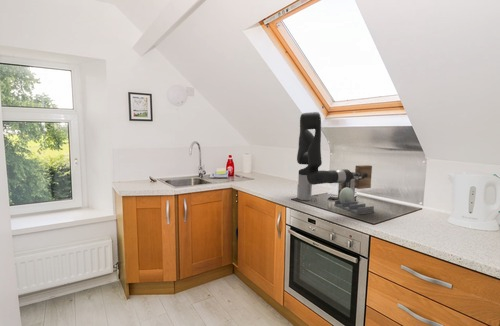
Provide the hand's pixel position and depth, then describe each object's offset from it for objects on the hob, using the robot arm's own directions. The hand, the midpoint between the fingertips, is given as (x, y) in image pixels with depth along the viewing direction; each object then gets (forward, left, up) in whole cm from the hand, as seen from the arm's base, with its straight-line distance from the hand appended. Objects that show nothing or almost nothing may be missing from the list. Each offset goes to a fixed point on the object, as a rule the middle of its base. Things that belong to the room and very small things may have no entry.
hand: (364, 174), depth 164 cm
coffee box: (-24, +9, -22) cm, 34 cm away
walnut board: (0, -1, -7) cm, 8 cm away
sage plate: (-13, -1, -22) cm, 25 cm away
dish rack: (-6, -1, -22) cm, 23 cm away
